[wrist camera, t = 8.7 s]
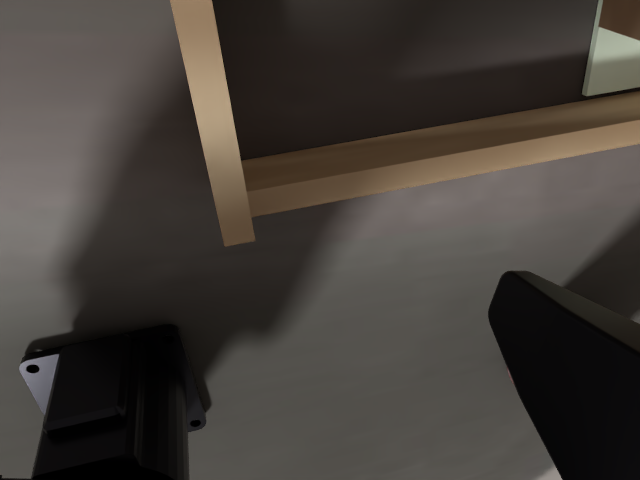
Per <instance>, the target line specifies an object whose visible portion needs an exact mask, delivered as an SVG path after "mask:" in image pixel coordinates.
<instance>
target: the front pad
mask: <svg viewBox="0 0 640 480" xmlns="http://www.w3.org/2000/svg"><path fill="white" fill-rule="evenodd" d="M602 4H603V0H599V1H598V7H597V12H596V18H595V23H594V29H593V35H592V40H591V46H590V51H589V57H588V62H587V68H586V73H585V79H584V85H583V90H582V94H583V95H585V96H591V95H597V94H603V93H608V92H614V91H620V90H625V89H631V88H637V87H640V41H639V40H636V39H633V38H630V37H627V36H624V35H621V34H618V33H615V32H612V31H610V30H607V29H604V28H601V27H598V25H599V20H600V14H601V9H602Z"/></svg>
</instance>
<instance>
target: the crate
mask: <svg viewBox="0 0 640 480" xmlns="http://www.w3.org/2000/svg"><path fill="white" fill-rule="evenodd" d="M598 27H601V28H604V29H607V30H610V31H612V32H615V33H618V34H621V35H624V36H627V37H630V38H633V39H636V40H639V41H640V0H603V4H602V9H601V14H600V20H599V25H598Z"/></svg>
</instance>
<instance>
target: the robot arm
mask: <svg viewBox="0 0 640 480" xmlns="http://www.w3.org/2000/svg"><path fill="white" fill-rule="evenodd" d="M488 318H489V322H490V325H491V328H492V330H493V333H494V335H495V338H496V340H497V343H498V345H499V348H500V350H501V353H502V355H503V358H504V360H505V363H506V365H507V368H508V370H509V373H510V375H511V378H512V380H513V383H514V385H515V387H516V390H517V392H518V394H519V396H520V398H521V401H522V403H523V405H524V407H525V409H526V411H527V412H528V414H529V416H530V418H531V420H532V422H533V424H534V426H535V428H536V430H537V432H538V434H539V435H540V437H541V439H542V441H543V443H544V445H545V447H546V449H547V451H548V453H549V455H550V457H551V458H552V460H553V462H554V464H555V466H556V468H557V470H558V472H559V474H560V475H561V478H562V479H563V480H640V324H639V323H636V322H634V321H632V320H630V319H628V318H626V317H624V316H622V315H620V314H617V313H615V312H613V311H611V310H609V309H607V308H605V307H603V306H601V305H599V304H596V303H594V302H592V301H590V300H588V299H586V298H584V297H582V296H580V295H578V294H575V293H573V292H571V291H569V290H567V289H565V288H563V287H561V286H559V285H556V284H554V283H552V282H550V281H548V280H546V279H544V278H542V277H540V276H538V275H535V274H533V273H531V272H529V271H507V272H505V273H504V274H503V275H502V276H501V278H500V280H499V283H498V285H497V288H496V291H495V293H494V296H493V299H492V301H491V304H490V306H489V311H488ZM166 335H171V336H173V337H170V338H166V337H164V336H166ZM30 364H35V365H37V366H31V365H30ZM19 369H20V372H21V374H22V376H23V378H24V380H25V381H26V383H27V385H28V387H29V389H30V391H31V392H32V394H33V396H34V398H35V400H36V401H37V403H38V405H39V407H40V409H41V410H42V412H43V414H44V416H45V417H44V421H43V428H42V432H41V437H40V441H39V445H38V450H37V454H36V458H35V463H34V467H33V471H32V476H31V479H17V478H2V475H0V480H189V453H188V432H191V431H196V430H199V429H202V428H203V427H204V426H205V424H206V414H205V411H204V408H203V404H202V401H201V398H200V395H199V391H198V388H197V385H196V382H195V378H194V375H193V372H192V368H191V365H190V362H189V359H188V355H187V352H186V349H185V346H184V342H183V339H182V336H181V332H180V330H179V328H178V327H176V326H175V325H171V324H169V325H162V326H157V327H152V328H148V329H143V330H138V331H133V332H129V333H124V334H119V335H115V336H110V337H105V338H101V339H96V340H91V341H86V342H82V343H77V344H72V345H68V346H63V347H58V348H53V349H49V350H44V351H39V352H35V353H30V354H27V355H25V356H24V357H23V358H22V361H21V364H20V367H19Z"/></svg>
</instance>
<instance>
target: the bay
mask: <svg viewBox="0 0 640 480" xmlns="http://www.w3.org/2000/svg"><path fill="white" fill-rule="evenodd" d="M170 2H171V6H172V11H173V15H174V20H175V25H176V29H177V34H178V38H179V43H180V47H181V52H182V56H183V61H184V65H185V70H186V74H187V79H188V83H189V88H190V93H191V97H192V102H193V106H194V111H195V115H196V120H197V124H198V129H199V133H200V138H201V142H202V147H203V152H204V156H205V161H206V165H207V170H208V174H209V179H210V183H211V188H212V192H213V197H214V201H215V206H216V210H217V215H218V220H219V224H220V229H221V233H222V238H223V242H224V247H226V246H232V245H237V244H242V243H247V242H252V241H255V236H254V230H253V225H252V219H251V217H256V216H261V215H267V214H272V213H277V212H282V211H288V210H293V209H298V208H303V207H309V206H314V205H319V204H325V203H330V202H335V201H340V200H346V199H351V198H356V197H361V196H367V195H372V194H377V193H382V192H388V191H393V190H398V189H403V188H409V187H414V186H419V185H424V184H430V183H435V182H440V181H446V180H451V179H456V178H461V177H467V176H472V175H477V174H482V173H488V172H493V171H498V170H503V169H509V168H514V167H519V166H524V165H530V164H535V163H540V162H545V161H551V160H556V159H561V158H567V157H572V156H577V155H582V154H588V153H593V152H598V151H603V150H609V149H614V148H619V147H624V146H630V145H635V144H640V91H636V92H630V93H624V94H618V95H613V96H607V97H601V98H596V99H590V100H584V101H579V102H573V103H567V104H561V105H556V106H550V107H544V108H539V109H533V110H527V111H522V112H516V113H510V114H504V115H499V116H493V117H487V118H482V119H476V120H470V121H465V122H459V123H453V124H447V125H442V126H436V127H430V128H425V129H419V130H413V131H408V132H402V133H396V134H390V135H385V136H379V137H373V138H368V139H362V140H356V141H351V142H345V143H339V144H334V145H328V146H322V147H316V148H311V149H305V150H299V151H294V152H288V153H282V154H277V155H271V156H265V157H259V158H254V159H248V160H242V161H241V158H240V153H239V147H238V142H237V136H236V131H235V125H234V120H233V114H232V109H231V103H230V98H229V92H228V87H227V81H226V76H225V70H224V65H223V59H222V54H221V48H220V43H219V37H218V32H217V26H216V21H215V15H214V10H213V4H212V0H170Z"/></svg>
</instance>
